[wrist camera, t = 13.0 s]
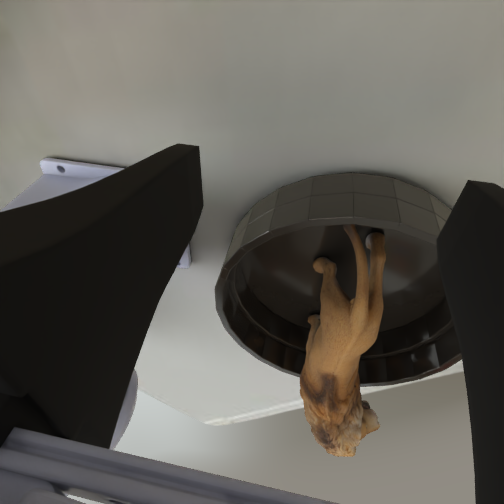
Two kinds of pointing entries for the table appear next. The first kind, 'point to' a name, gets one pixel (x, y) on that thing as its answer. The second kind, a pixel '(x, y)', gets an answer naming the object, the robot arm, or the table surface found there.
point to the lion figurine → (343, 350)
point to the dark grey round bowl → (340, 274)
